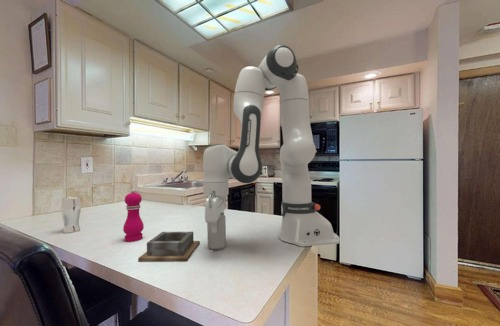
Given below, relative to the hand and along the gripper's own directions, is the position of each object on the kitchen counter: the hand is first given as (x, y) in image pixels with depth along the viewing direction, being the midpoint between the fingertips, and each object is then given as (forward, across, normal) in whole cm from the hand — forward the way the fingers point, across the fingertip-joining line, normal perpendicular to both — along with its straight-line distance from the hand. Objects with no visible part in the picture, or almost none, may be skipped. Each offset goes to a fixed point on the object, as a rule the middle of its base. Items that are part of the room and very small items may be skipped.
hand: (216, 229), depth 78 cm
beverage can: (+7, 0, 0) cm, 7 cm away
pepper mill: (+7, +9, +35) cm, 37 cm away
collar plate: (+6, -4, +14) cm, 16 cm away
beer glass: (+7, +20, +70) cm, 73 cm away
